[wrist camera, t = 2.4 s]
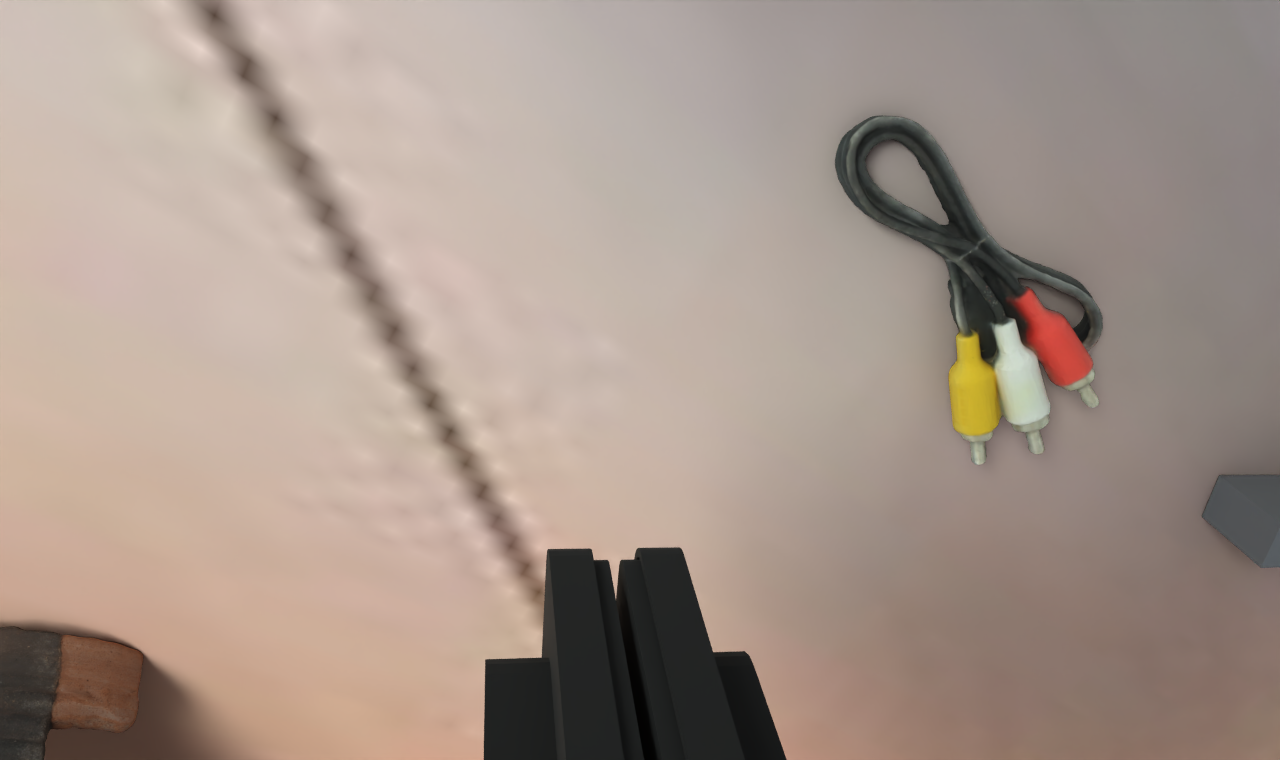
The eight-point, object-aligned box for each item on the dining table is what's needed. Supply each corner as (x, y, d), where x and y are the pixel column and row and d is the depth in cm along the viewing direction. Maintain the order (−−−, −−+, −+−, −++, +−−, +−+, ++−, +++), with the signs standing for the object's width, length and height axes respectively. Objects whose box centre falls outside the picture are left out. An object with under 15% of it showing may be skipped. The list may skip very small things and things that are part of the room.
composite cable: (807, 144, 22) (843, 170, 20) (991, 34, 21) (1049, 49, 19) (949, 442, 27) (991, 491, 24) (1104, 358, 26) (1161, 399, 24)
